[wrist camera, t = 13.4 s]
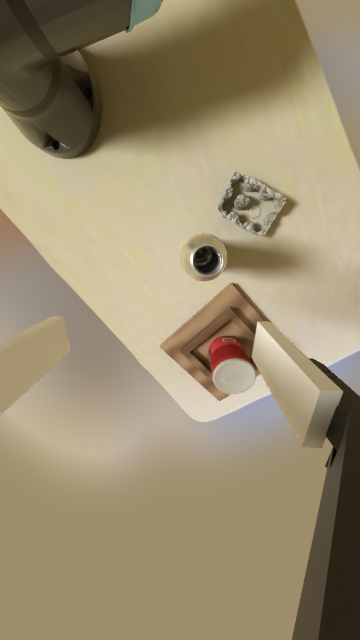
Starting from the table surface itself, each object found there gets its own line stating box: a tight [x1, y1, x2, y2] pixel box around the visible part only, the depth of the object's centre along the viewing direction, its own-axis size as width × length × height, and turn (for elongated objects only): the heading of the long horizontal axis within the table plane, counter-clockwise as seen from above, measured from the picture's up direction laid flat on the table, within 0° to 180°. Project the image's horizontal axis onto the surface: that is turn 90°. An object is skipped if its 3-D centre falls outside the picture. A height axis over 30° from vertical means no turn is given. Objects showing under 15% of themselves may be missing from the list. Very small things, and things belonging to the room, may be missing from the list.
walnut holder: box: [160, 283, 264, 401], centre depth 47 cm, size 22×22×4 cm
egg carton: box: [218, 172, 287, 236], centre depth 36 cm, size 11×8×4 cm
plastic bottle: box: [181, 233, 227, 281], centre depth 32 cm, size 6×7×20 cm
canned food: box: [208, 336, 256, 394], centre depth 42 cm, size 8×8×11 cm
